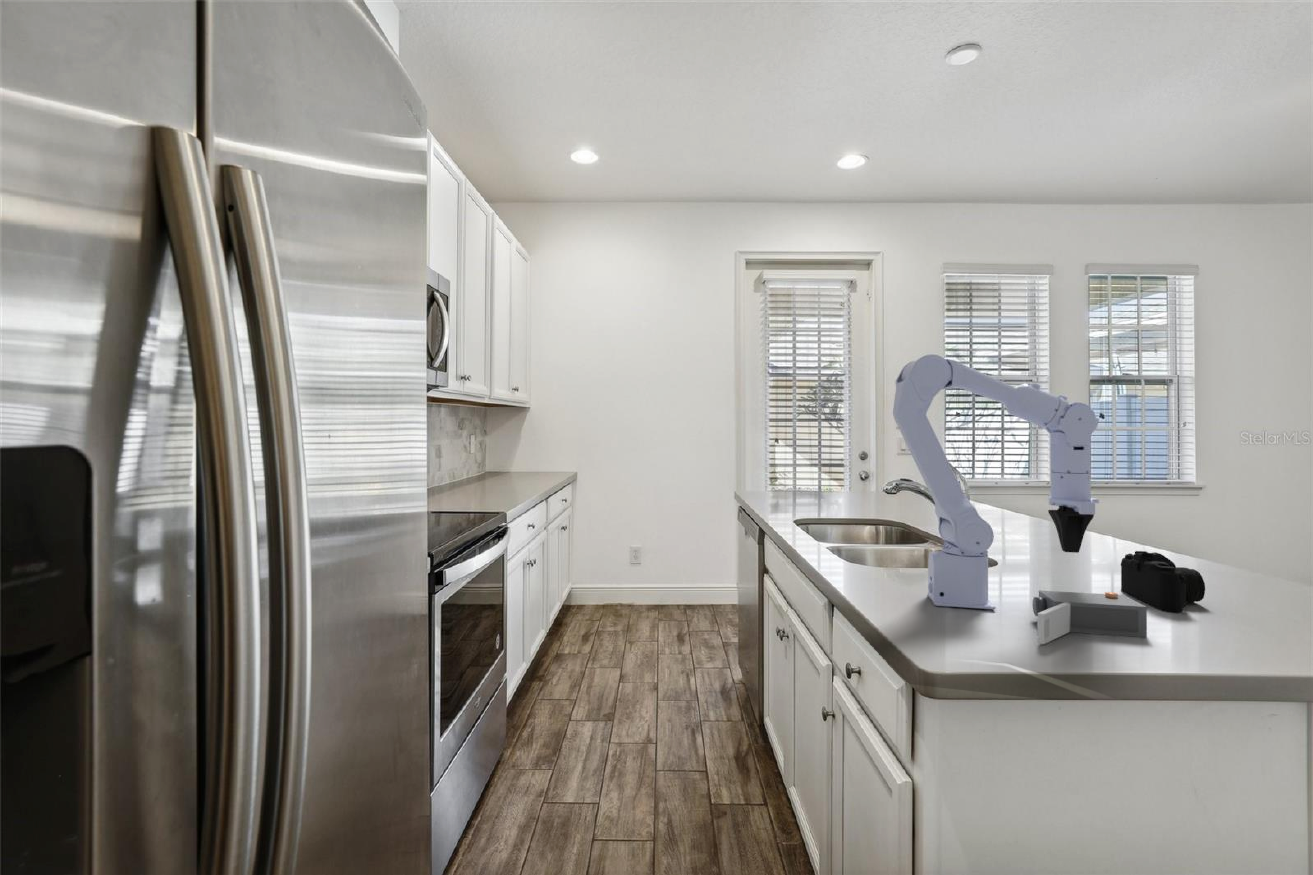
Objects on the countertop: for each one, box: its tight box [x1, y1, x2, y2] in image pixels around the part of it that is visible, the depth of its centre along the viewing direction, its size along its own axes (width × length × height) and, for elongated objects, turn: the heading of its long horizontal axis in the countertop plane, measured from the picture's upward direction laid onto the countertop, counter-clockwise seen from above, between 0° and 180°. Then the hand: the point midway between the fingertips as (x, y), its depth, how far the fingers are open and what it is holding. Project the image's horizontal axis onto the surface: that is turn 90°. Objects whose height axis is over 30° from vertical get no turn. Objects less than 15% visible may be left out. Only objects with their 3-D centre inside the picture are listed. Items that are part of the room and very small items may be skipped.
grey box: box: [1032, 590, 1148, 638], centre depth 95 cm, size 13×7×5 cm, turn 75°
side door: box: [1036, 602, 1071, 645], centre depth 90 cm, size 10×1×4 cm, turn 127°
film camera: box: [1120, 550, 1206, 614], centre depth 110 cm, size 15×10×9 cm, turn 168°
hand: (1070, 551), depth 105 cm, fingers closed
